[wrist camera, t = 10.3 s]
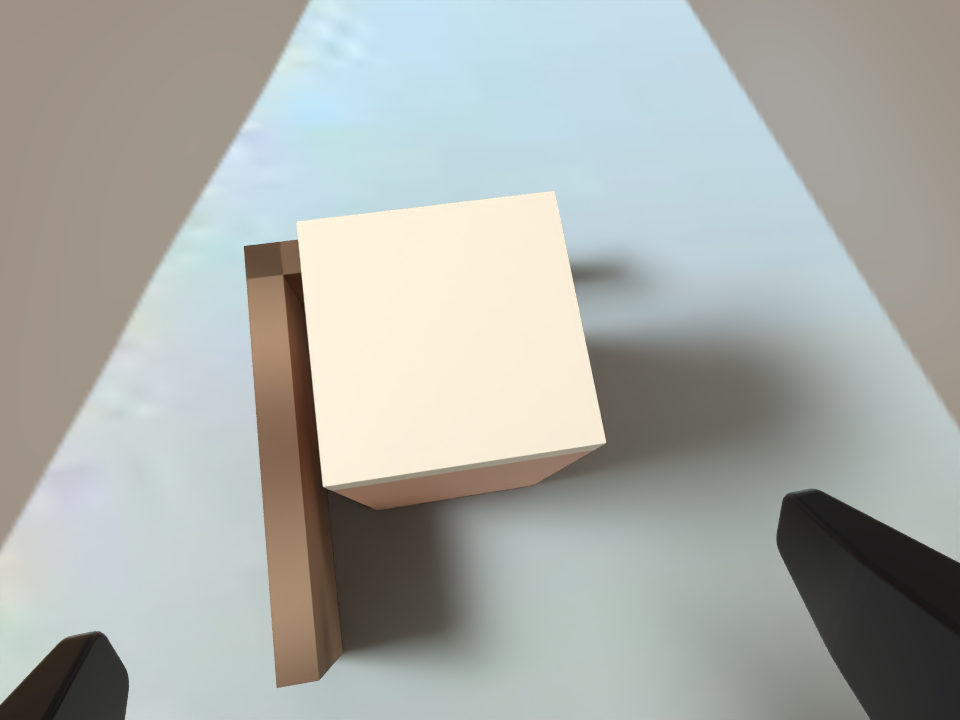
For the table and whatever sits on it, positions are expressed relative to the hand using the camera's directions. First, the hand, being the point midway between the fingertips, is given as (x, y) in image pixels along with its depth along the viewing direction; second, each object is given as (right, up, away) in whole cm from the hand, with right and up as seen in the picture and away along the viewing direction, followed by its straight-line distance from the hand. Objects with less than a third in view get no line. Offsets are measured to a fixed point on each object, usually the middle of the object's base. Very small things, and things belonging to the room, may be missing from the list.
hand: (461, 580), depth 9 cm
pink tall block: (-1, +1, +13) cm, 13 cm away
